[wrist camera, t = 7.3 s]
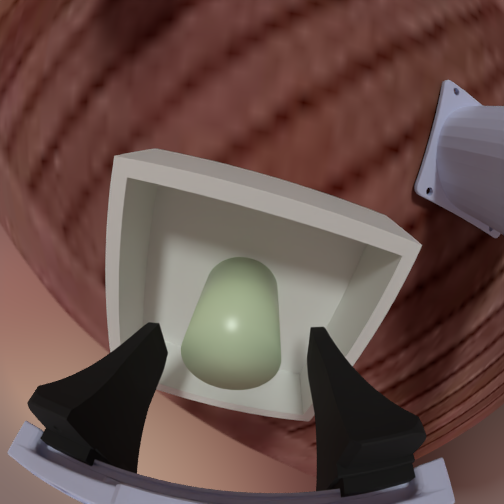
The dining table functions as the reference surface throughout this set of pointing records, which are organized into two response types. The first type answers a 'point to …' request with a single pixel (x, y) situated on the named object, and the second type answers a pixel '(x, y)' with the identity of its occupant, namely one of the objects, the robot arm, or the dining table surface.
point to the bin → (251, 246)
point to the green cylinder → (235, 327)
